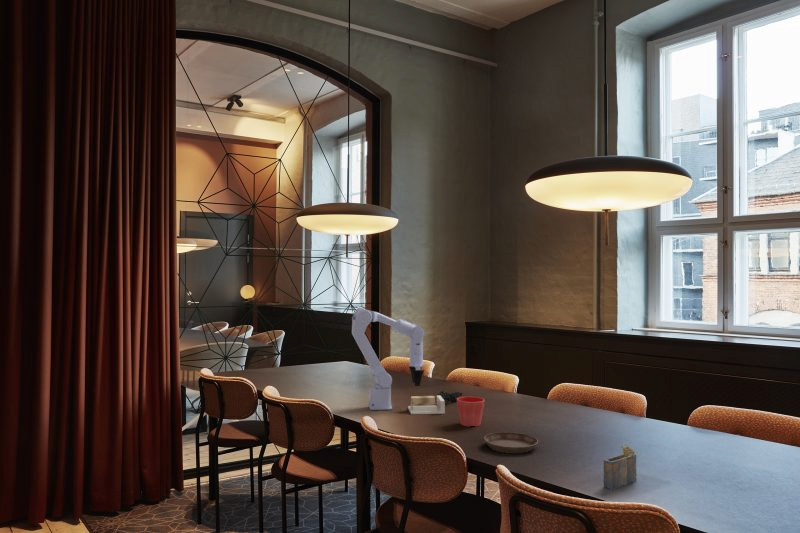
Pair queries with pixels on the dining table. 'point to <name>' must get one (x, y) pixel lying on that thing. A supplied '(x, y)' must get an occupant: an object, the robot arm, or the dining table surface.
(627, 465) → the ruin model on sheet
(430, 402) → the tan block
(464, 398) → the flower pot
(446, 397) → the decorative element
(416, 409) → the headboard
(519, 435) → the plant saucer
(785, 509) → the dining table surface
